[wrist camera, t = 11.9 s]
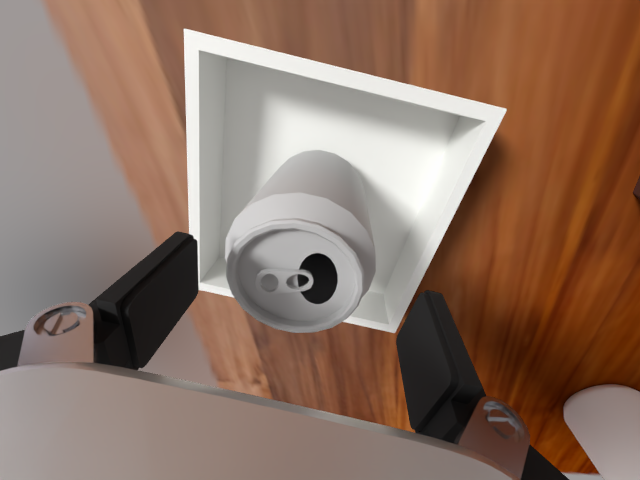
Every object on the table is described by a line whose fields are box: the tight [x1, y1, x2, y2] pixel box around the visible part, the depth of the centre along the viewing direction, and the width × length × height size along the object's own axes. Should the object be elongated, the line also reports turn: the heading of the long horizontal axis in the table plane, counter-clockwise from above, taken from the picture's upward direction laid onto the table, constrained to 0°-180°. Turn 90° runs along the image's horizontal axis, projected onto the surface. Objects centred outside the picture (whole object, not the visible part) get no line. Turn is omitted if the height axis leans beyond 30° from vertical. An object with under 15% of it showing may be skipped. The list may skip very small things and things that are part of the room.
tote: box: [184, 29, 507, 333], centre depth 21 cm, size 18×18×5 cm
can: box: [225, 150, 376, 333], centre depth 17 cm, size 8×8×12 cm
